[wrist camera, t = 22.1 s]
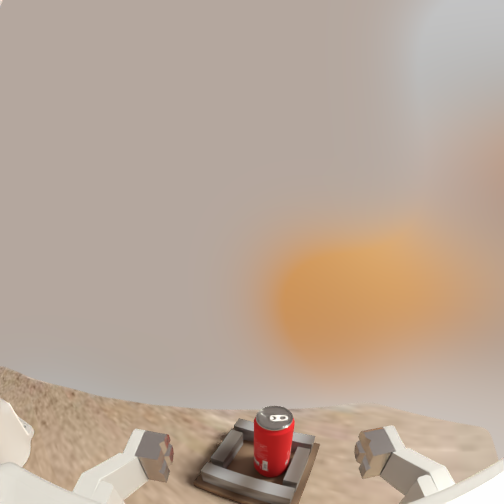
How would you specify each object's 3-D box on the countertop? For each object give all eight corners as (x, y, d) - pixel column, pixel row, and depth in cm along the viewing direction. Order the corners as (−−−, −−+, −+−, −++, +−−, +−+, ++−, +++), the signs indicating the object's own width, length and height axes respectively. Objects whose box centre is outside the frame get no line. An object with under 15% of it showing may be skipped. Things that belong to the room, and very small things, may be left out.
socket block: (194, 485, 31) (190, 472, 30) (236, 428, 45) (236, 413, 44) (292, 516, 25) (295, 506, 25) (318, 447, 39) (322, 432, 38)
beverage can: (254, 455, 37) (254, 404, 35) (286, 454, 37) (293, 404, 35) (253, 479, 32) (253, 431, 30) (289, 478, 32) (297, 430, 29)
